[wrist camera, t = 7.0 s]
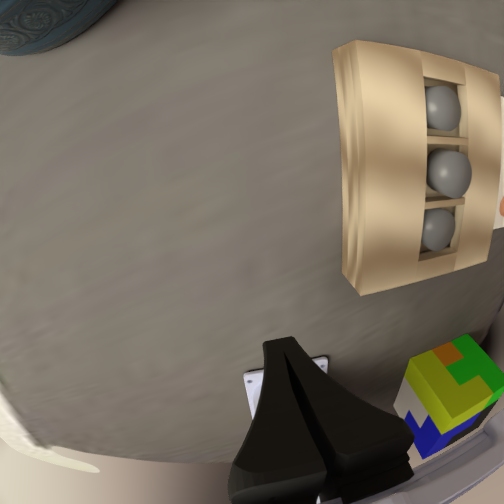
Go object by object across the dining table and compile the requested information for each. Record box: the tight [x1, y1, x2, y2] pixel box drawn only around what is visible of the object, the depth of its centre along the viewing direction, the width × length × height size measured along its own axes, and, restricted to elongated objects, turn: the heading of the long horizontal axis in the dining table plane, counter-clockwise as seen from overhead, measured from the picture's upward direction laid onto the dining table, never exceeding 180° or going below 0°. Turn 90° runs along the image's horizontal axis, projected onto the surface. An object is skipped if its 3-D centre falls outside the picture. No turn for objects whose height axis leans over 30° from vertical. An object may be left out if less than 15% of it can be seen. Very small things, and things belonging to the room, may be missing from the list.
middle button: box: [426, 148, 472, 199], centre depth 17 cm, size 3×3×2 cm
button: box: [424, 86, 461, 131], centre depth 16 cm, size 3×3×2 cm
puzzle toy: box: [393, 334, 504, 459], centre depth 28 cm, size 10×10×10 cm
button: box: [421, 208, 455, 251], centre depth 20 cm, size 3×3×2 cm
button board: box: [332, 40, 502, 296], centre depth 18 cm, size 16×14×4 cm
